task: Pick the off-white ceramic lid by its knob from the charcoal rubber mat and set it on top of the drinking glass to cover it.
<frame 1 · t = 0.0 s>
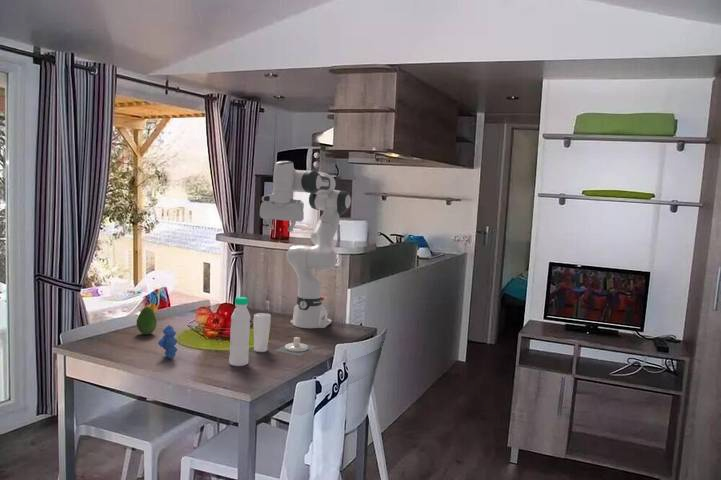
hand: (280, 230, 237), 48 cm above the table, fingers open, 8 cm apart
drinking glass: (260, 351, 222), on the table
mat: (296, 349, 227), on the table
water bottle: (238, 364, 204), on the table
lid: (296, 348, 227), point 1 cm above the table, touching mat
grapes: (166, 358, 206), on the table
avocado: (146, 334, 235), on the table
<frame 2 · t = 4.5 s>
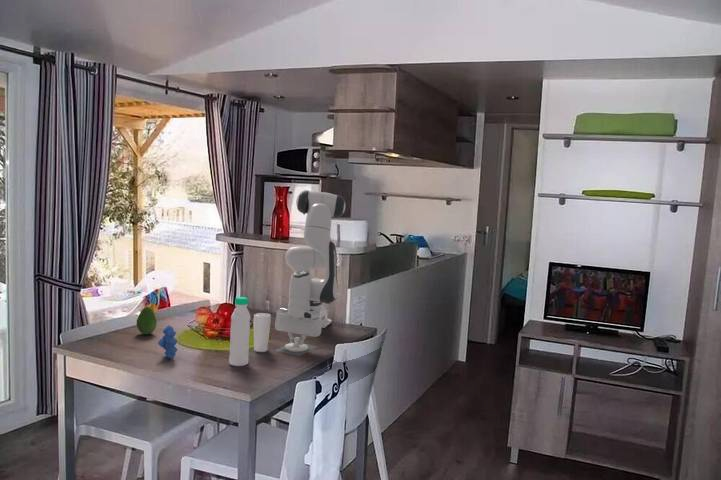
hand: (296, 343, 227), 3 cm above the table, fingers closed on lid, 3 cm apart
lid: (296, 348, 227), point 1 cm above the table, touching gripper, mat
everything else where it was.
when the fingers open (19 cm above the table, at t = 8.4 s): lid drops 2 cm, resting on drinking glass.
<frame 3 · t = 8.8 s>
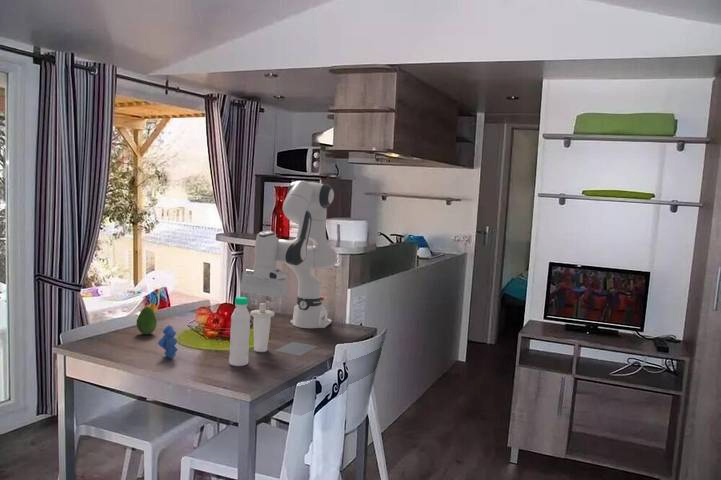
hand: (262, 306, 220), 19 cm above the table, fingers open, 6 cm apart
drinking glass: (260, 351, 222), on the table, touching lid
lid: (262, 314, 220), point 15 cm above the table, touching drinking glass
everything else where it was.
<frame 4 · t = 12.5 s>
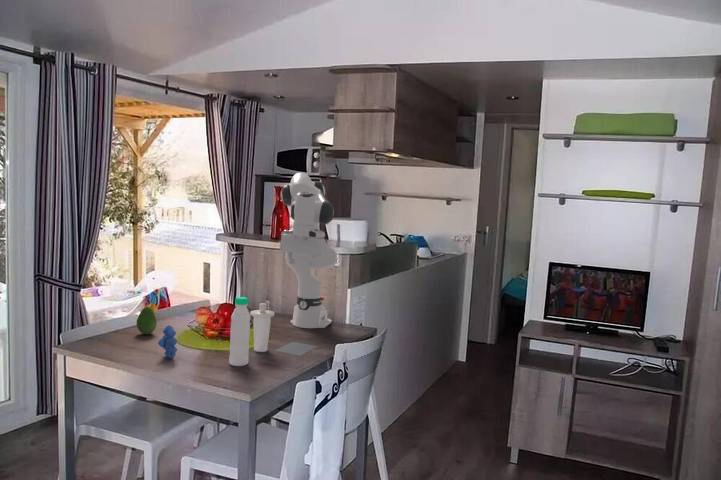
hand: (301, 264, 228), 35 cm above the table, fingers open, 8 cm apart
nothing on the table moved.
at the end: lid 0.0 cm off-centre on the drinking glass, point 15.2 cm above the drinking glass's base; drinking glass tilted 0°; lid touching drinking glass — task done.
